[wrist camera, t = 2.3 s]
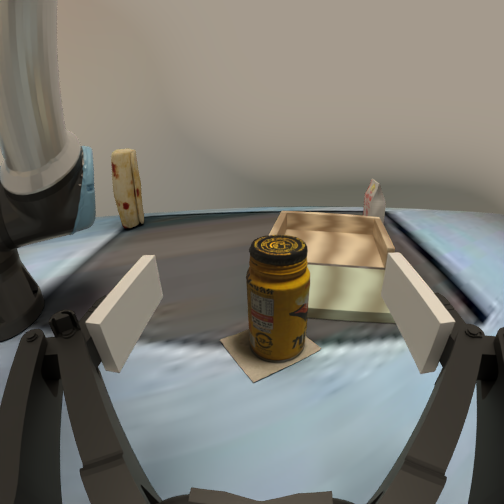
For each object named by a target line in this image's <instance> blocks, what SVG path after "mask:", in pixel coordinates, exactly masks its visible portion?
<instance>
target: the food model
mask: <svg viewBox="0 0 504 504" xmlns="http://www.w3.org/2000/svg"><path fill="white" fill-rule="evenodd" d="M111 163H112V180H113V192H114V197H115V201H116V205H117V208H118V212H119V215H120V219H121V222H122V225H123V227H124V228H125V229H127V228H132V227H135V226H137V225H138V224H139V221H140V223H141V224H143V223H144V213H143V205H142V196H141V182H140V177H139V171H138V165H137V159H136V151H135V150H132V149H129V148H127V149H118V150H115V151H114V152H113V153H112V159H111Z"/></svg>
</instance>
